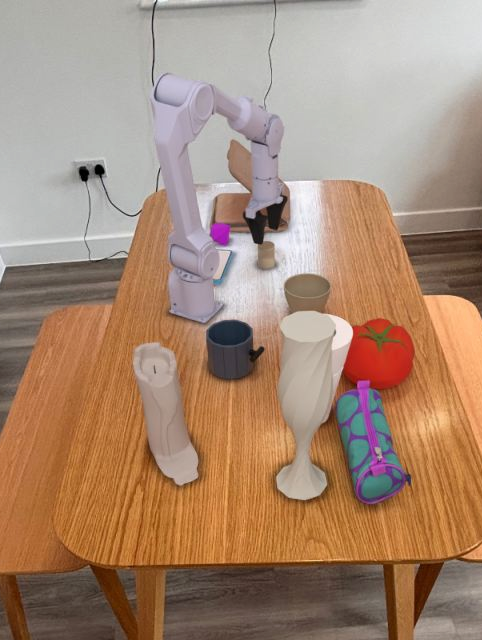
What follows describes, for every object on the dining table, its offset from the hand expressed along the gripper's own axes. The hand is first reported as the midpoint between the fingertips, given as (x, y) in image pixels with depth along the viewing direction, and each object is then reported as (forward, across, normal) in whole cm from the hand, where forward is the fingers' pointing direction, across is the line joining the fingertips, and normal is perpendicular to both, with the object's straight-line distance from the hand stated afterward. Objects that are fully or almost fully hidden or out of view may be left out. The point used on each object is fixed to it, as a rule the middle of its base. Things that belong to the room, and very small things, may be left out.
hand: (266, 236), depth 148 cm
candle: (+7, -65, -17) cm, 68 cm away
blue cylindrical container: (+7, -38, -14) cm, 41 cm away
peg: (+7, 0, 0) cm, 7 cm away
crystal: (+7, +5, +16) cm, 18 cm away
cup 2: (+7, -44, -34) cm, 56 cm away
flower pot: (+7, -15, -18) cm, 25 cm away
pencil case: (+7, -51, -47) cm, 70 cm away
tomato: (+7, -28, -39) cm, 49 cm away
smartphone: (+7, -7, +11) cm, 15 cm away
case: (+7, +21, +16) cm, 27 cm away
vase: (+7, -60, -39) cm, 72 cm away
